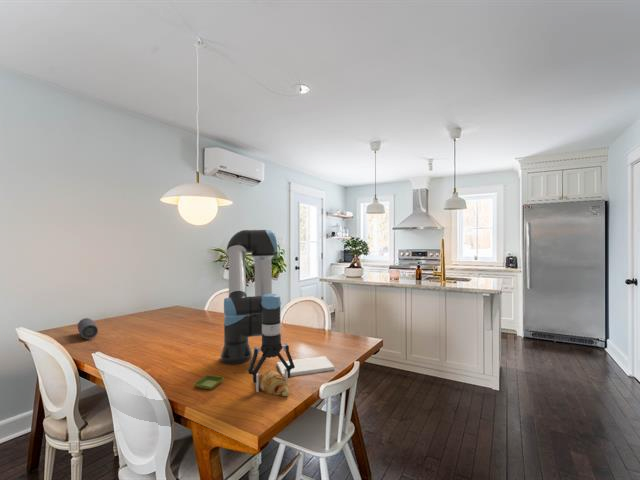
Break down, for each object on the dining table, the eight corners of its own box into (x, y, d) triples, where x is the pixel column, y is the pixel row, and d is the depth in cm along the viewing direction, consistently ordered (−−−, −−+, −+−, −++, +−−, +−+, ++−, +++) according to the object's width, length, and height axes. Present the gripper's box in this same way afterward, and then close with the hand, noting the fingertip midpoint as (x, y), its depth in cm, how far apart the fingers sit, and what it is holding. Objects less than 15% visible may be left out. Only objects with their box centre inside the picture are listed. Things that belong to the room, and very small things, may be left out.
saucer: (211, 391, 126) (211, 386, 126) (193, 388, 128) (193, 383, 128) (224, 382, 134) (224, 377, 134) (207, 379, 137) (207, 374, 137)
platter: (282, 377, 137) (282, 373, 137) (277, 365, 151) (277, 362, 151) (334, 370, 144) (334, 366, 144) (325, 359, 158) (325, 356, 158)
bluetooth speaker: (76, 334, 205) (76, 318, 205) (94, 331, 211) (93, 316, 211) (79, 342, 188) (79, 325, 188) (99, 339, 194) (98, 322, 194)
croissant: (294, 404, 122) (301, 382, 124) (275, 400, 115) (284, 378, 118) (261, 385, 136) (268, 366, 139) (243, 381, 130) (251, 361, 132)
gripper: (241, 339, 120) (242, 397, 120) (301, 333, 127) (302, 388, 127) (240, 333, 127) (241, 388, 127) (297, 328, 134) (298, 380, 134)
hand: (271, 388), depth 127 cm, fingers open, 11 cm apart
